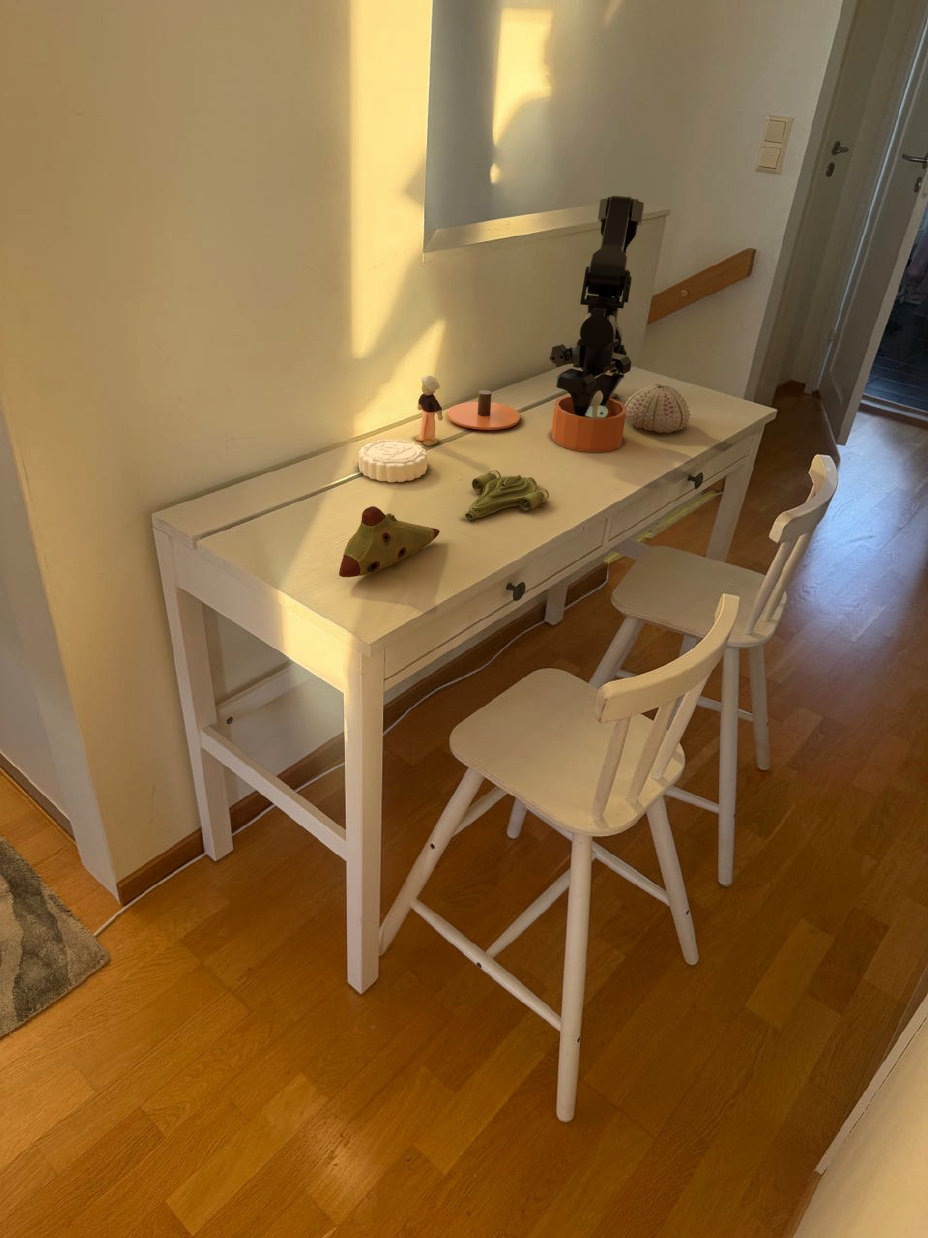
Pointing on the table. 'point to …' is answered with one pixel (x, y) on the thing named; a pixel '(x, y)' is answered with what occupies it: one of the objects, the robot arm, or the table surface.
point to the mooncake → (392, 460)
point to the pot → (588, 427)
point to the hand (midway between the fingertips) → (589, 415)
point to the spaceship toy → (504, 494)
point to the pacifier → (597, 407)
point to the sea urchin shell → (657, 409)
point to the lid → (483, 414)
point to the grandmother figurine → (428, 410)
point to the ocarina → (382, 543)
